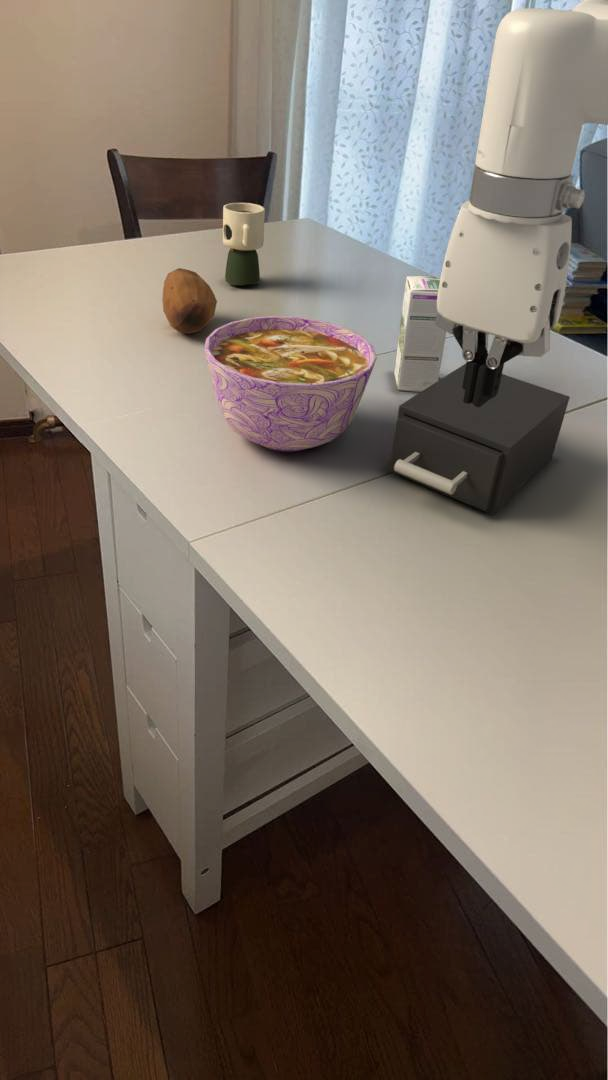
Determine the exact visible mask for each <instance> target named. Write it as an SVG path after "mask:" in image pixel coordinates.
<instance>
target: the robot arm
mask: <svg viewBox="0 0 608 1080" xmlns="http://www.w3.org/2000/svg"><path fill="white" fill-rule="evenodd" d="M495 32H496V33H495V37H494V43H493V47H492V48H493V49H492V55H491V62H490V68H489V75H488V78H487V80H488V81H487V86H486V92H485V93H486V94H485V98H484V105H483V112H482V118H481V124H480V131H479V136H478V143H477V148H476V149H477V150H476V156H475V162H474V163H475V164H474V168H473V173H472V175H473V176H472V180H471V186H470V193H469V197H468V198H469V199H468V200H466V201H465V202H463V203H462V204H461V207H460V209H459V212H458V214H457V217H456V219H455V222H454V225H453V228H452V231H451V234H450V237H449V240H448V244H447V248H446V251H445V256H444V259H443V265H442V268H441V272H440V277H439V278H440V283H439V289H438V296H437V310H438V314H437V316H436V319H435V323H436V325H437V326H438V327H440V328H442V329H443V330H445V331H446V333H448V334H450V335H453V337H454V339H455V340H456V342H457V344H458V345H459V347H460V348H461V350H462V354H461V355H462V358H463V360H464V361H465V364H466V368H465V373H464V379H463V385H462V388H463V389H465V394H464V399H463V402H464V403H467V404H470V403H472V404H474V406H476V407H481V406H482V405H483V404H485V403H486V402H487V401H489V400H490V399H491V398H494V397H495V396H496V395H497V393H498V390H499V386H500V381H501V376H502V374H503V371H504V367H505V363H506V362H507V363H508V362H509V361H510V360H512V359H514V358H516V357H517V356H522V357H533V358H534V357H537V358H538V357H540V358H541V357H542V356H544V355H546V354H547V353H548V352H549V351H550V349H551V331H552V330H554V329H555V328H556V327H557V325H558V323H559V320H560V317H561V313H562V309H563V304H564V299H565V291H566V287H567V279H568V273H569V267H570V266H569V265H570V258H571V249H572V248H571V247H572V235H573V234H572V232H573V231H572V230H573V229H572V228H573V227H572V226H573V223H572V221H573V218H572V217H571V216H570V215H567V214H564V213H563V212H564V211H566V210H567V209H571V208H573V209H574V208H575V209H580V208H581V207H582V205H583V202H584V201H585V196H586V195H585V194H586V191H585V190H584V189H579V188H577V187H576V186H574V185H573V184H574V183H573V180H574V175H573V174H572V172H573V169H574V165H575V159H576V156H577V151H578V146H579V142H580V138H581V133H582V129H583V126H585V125H586V124H596V125H597V124H598V125H605V126H608V0H582V1H580V2H579V3H578V4H577V5H576V6H575V7H573V8H572V9H571V10H569V9H568V10H567V9H555V8H554V9H553V8H538V7H537V8H535V7H534V8H533V7H529V8H527V7H525V8H518V9H514V10H512V11H509V12H508V13H507V14H505V15H504V17H503V18H502V19H501V21H500V22H499V24H498V26H497V29H496V31H495ZM489 335H492V336H494V337H493V340H492V343H491V346H490V348H489ZM488 348H489V350H488Z"/></svg>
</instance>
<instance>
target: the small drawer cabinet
mask: <svg viewBox="0 0 608 1080" xmlns="http://www.w3.org/2000/svg"><path fill="white" fill-rule="evenodd" d="M465 368H466V363H463V365H461V366H459V367H458V368H456V369H455V370H452V371H451V372H450V373H448V374H446V375H445V376H443V377H442V378H440V379H438V381H437V382H436V383H434V384H433V385H431V386H429V387H428V388H426V389H425V390H423V391H422V392H417V393H416V394H415V395H413V396H411V398H409V399H407V400H406V401H404V402H403V403H401V404H400V405H399V406H398V412H397V418H398V417H400V416H401V415H405V416H407V417H410V418H416V419H419V420H421V421H424V422H427V423H429V424H432V425H434V426H437V427H440V428H442V429H445V430H447V431H450V432H453V433H455V434H458V435H461V436H463V437H466V438H468V439H471V440H474V441H476V442H479V443H481V444H484V445H487V446H489V447H492V448H495V449H497V450H500V451H502V453H503V457H502V461H501V465H500V469H499V473H498V477H497V481H496V485H495V489H494V493H493V497H492V501H491V505H490V507H489V508H488V509H487V510H486V511H484V510H482V509H479V508H477V507H475V506H472V505H470V504H467V503H465V502H463V501H460V500H458V499H456V498H453V497H451V496H449V495H446V494H444V493H442V492H439V491H437V490H434V489H432V488H430V487H427V486H425V485H423V484H420V483H418V482H416V481H413V480H411V479H409V478H406V477H404V476H401V475H399V474H397V473H394V472H392V471H390V470H389V469H388V471H389V472H391V473H393V474H395V475H397V476H400V477H402V478H405V479H407V480H409V481H412V482H414V483H416V484H419V485H421V486H423V487H426V488H428V489H431V490H432V491H435V492H437V493H440V494H442V495H445V496H446V497H449V498H451V499H454V500H457V501H459V502H460V503H463V504H466V505H467V506H468V505H469V506H470V507H473V508H475V509H478V510H479V511H483V512H484V513H487V514H490V515H492V516H494V515H496V513H497V512H499V511H500V510H501V509H502V508H503V507H504V505H506V504H507V503H508V502H509V501H510V500H511V499H512V498H513V497H514V496H515V495H516V494H517V493H518V492H519V491H520V490H522V488H524V486H525V485H527V483H529V482H530V481H531V480H532V479H533V478H534V477H535V476H536V475H537V474H538V473H539V472H540V471H541V470H542V469H543V468H544V467H545V466H546V465H547V464H548V463H549V462H551V460H552V459H553V455H554V453H555V449H556V445H557V442H558V439H559V436H560V433H561V428H562V425H563V421H564V420H565V419H564V418H565V415H566V411H567V408H568V405H569V402H570V398H571V396H569V395H566V394H564V393H561V392H557V391H554V390H551V389H548V388H546V387H542V386H540V385H536V384H534V383H531V382H528V381H524V380H521V379H519V378H516V377H514V376H513V377H512V376H510V375H506V374H503V373H502V376H501V381H500V386H499V390H498V393H497V395H496V396H495V397H494V398H491V399H490V400H489V401H487V402H486V403H485V404H483V405H482V406H481V407H476V406H474V404H472V403H470V404H467V403H464V402H463V399H464V394H465V389H463V388H462V385H463V379H464V373H465Z"/></svg>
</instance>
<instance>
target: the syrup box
mask: <svg viewBox="0 0 608 1080" xmlns="http://www.w3.org/2000/svg"><path fill="white" fill-rule="evenodd" d="M440 278H441V277H439V276H428V275H427V276H426V275H414V276H412V275H411V276H410V275H407V276H406V280H405V287H404V294H403V301H402V309H401V316H400V324H399V330H398V331H399V333H398V338H397V345H396V346H397V348H396V355H395V361H394V370H393V376H394V380H395V384H396V389H397V390H398V391H405V392H414V393H415V392H417V393H420V392H422V391H423V390H425V389H426V388H428V387H429V386H431V385H433V384H434V383H436V382H437V381H439V378H440V372H441V366H442V360H443V354H444V349H445V341H446V337H447V331H445V330H443V329H442V328H440V327H438V326H437V325H436V323H435V319H436V316H437V314H438V310H437V296H438V289H439V283H440Z"/></svg>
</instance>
